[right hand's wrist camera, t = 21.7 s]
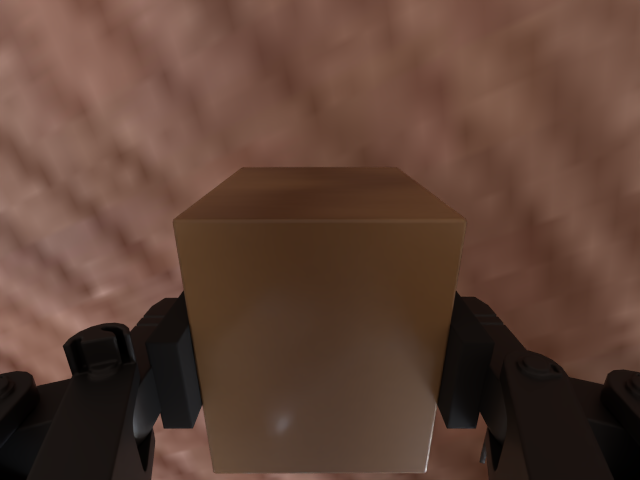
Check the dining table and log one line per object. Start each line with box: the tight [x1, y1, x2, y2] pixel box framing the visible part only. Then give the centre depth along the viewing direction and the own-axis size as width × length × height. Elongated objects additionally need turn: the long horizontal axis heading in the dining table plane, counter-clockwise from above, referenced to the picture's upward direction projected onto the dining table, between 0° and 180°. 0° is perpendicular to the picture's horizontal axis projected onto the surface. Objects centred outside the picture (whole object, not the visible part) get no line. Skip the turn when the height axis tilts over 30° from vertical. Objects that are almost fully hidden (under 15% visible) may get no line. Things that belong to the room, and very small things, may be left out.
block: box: [173, 167, 467, 473], centre depth 12 cm, size 7×8×7 cm
